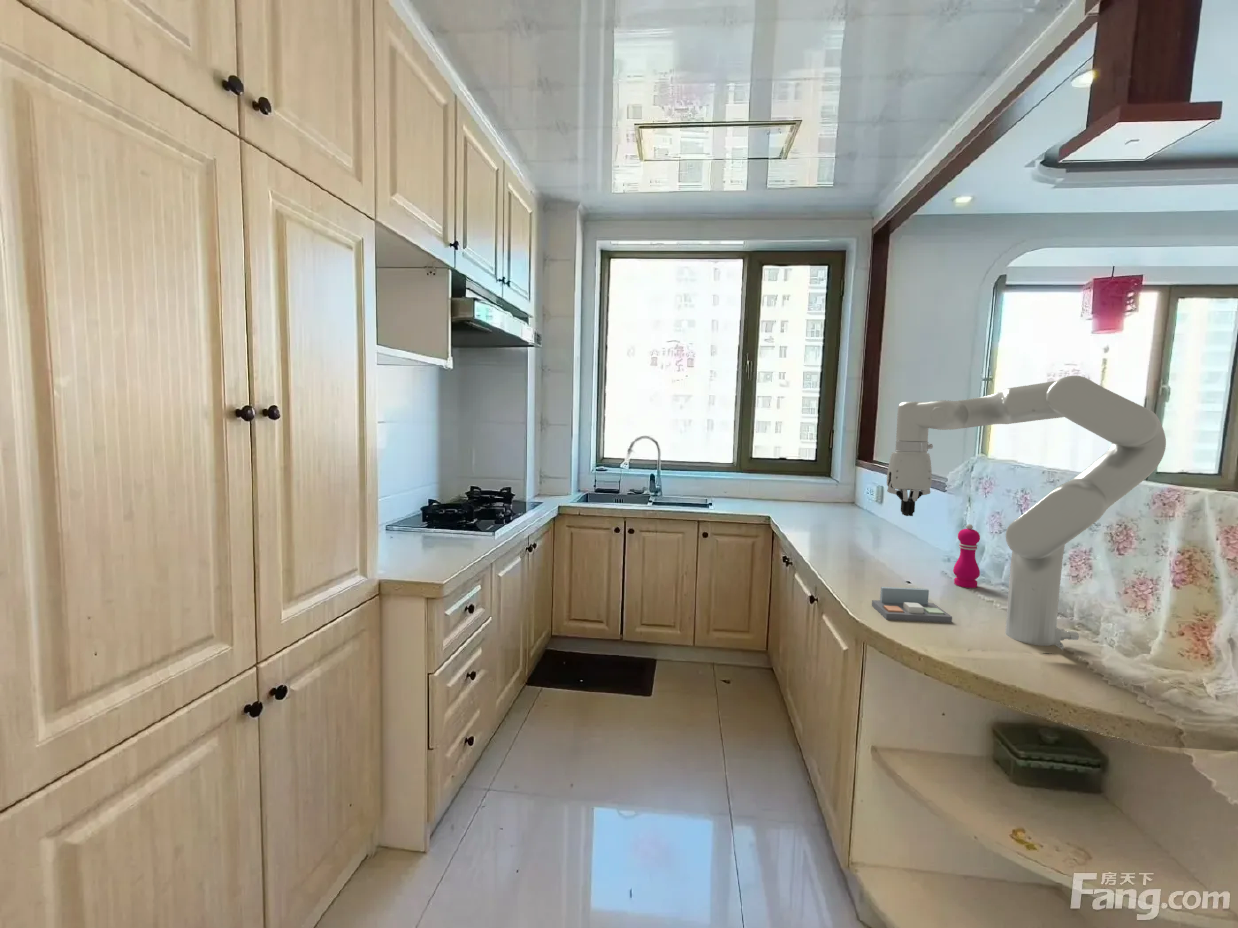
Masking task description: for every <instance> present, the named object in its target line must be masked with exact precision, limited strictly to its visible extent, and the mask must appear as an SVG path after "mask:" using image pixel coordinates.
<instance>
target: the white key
mask: <svg viewBox="0 0 1238 928" xmlns="http://www.w3.org/2000/svg"><path fill="white" fill-rule="evenodd" d="M903 609H904V610H905V611H907V612H908V613H921V614H924V607H923V606H921V605H920V604H919V603H909V602H904V604H903Z"/></svg>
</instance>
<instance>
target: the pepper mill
mask: <svg viewBox="0 0 1238 928" xmlns="http://www.w3.org/2000/svg"><path fill="white" fill-rule="evenodd" d="M965 527H966V528H963V529H961V530H960V531H958V533H957V539H958V541H959V543H958V547H959V549H960V552H959V557H958V559H957V560H956V562H955V564H954V567H953V568H952V569H953V570H952V571H953V574H954V575H955V576H956V577H954V581H953V582H954V585H956V586H957V587H961V588H966V589H976V588H977V587H978V580H977V579H978V578H979V577H980V575H981V572H980V567H979V565H978V562H977V560H976V551H977V550H978V543H980V541H981V535H980V534H979V532H978V531H977V530H975V529H973V528H974V527H973V524H971V523H968V524H966V526H965Z"/></svg>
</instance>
